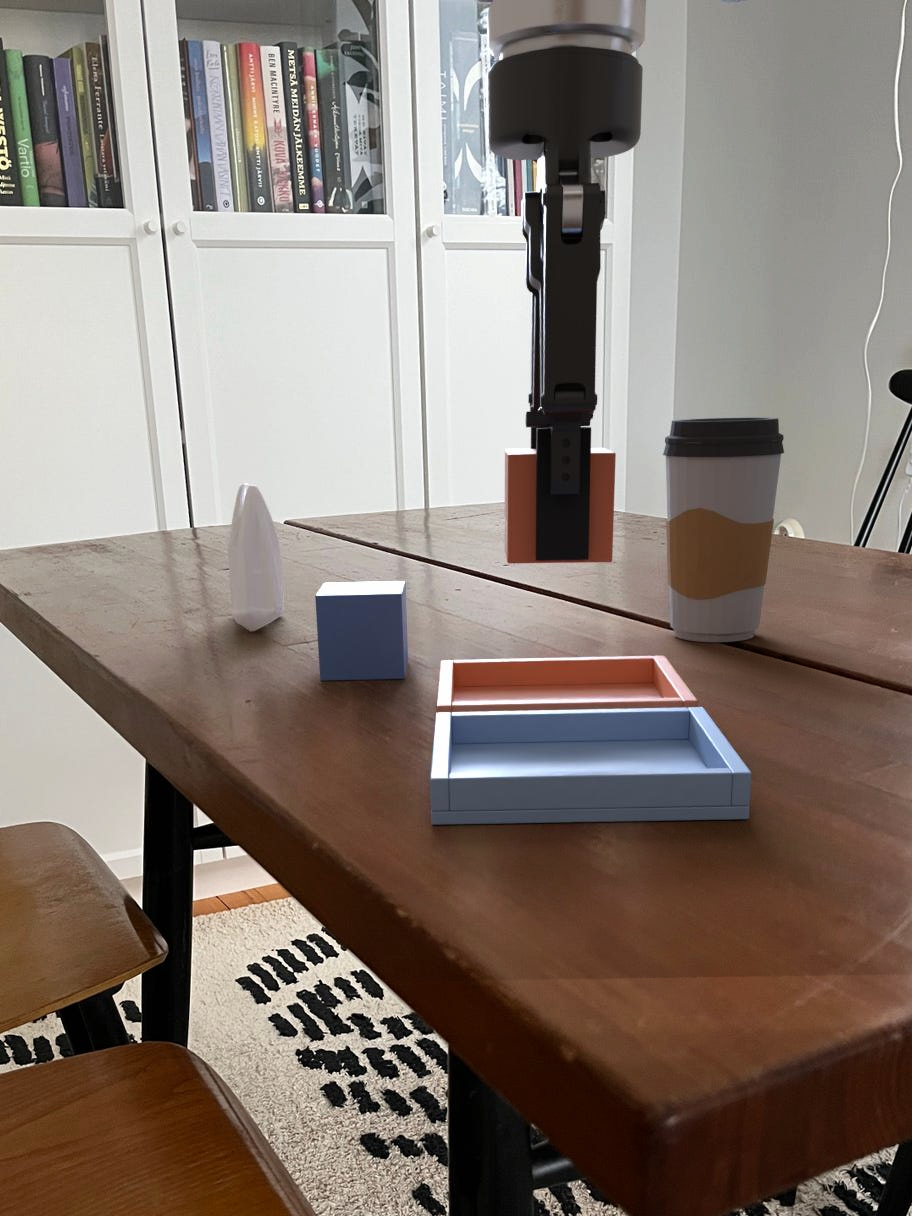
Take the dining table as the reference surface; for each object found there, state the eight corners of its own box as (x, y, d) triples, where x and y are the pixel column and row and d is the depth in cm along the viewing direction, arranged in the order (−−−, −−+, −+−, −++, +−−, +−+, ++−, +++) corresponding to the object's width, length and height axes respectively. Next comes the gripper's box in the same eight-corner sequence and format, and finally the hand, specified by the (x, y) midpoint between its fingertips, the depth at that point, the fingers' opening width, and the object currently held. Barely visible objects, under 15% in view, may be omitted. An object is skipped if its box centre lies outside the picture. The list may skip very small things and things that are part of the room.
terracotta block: (601, 549, 71) (604, 447, 69) (612, 562, 66) (616, 452, 64) (504, 550, 71) (504, 449, 70) (507, 563, 66) (507, 454, 64)
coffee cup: (788, 629, 94) (803, 416, 89) (747, 649, 87) (760, 421, 82) (684, 621, 98) (692, 418, 93) (637, 639, 92) (643, 422, 87)
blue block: (408, 661, 87) (405, 580, 85) (404, 679, 82) (401, 593, 80) (328, 663, 87) (324, 582, 85) (320, 680, 82) (315, 595, 80)
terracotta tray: (663, 689, 77) (665, 655, 76) (696, 739, 66) (698, 700, 65) (441, 694, 77) (440, 660, 77) (437, 744, 66) (436, 705, 66)
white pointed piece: (286, 635, 97) (277, 486, 93) (232, 638, 97) (219, 488, 93) (284, 610, 108) (276, 476, 104) (235, 612, 108) (224, 478, 104)
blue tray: (701, 746, 65) (703, 706, 64) (749, 819, 54) (752, 772, 53) (436, 751, 65) (435, 712, 64) (431, 825, 54) (430, 778, 54)
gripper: (483, 101, 69) (486, 534, 77) (489, 7, 52) (492, 577, 60) (620, 97, 69) (609, 531, 77) (671, 1, 52) (650, 574, 60)
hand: (557, 550), depth 69 cm, fingers closed on terracotta block, 5 cm apart
